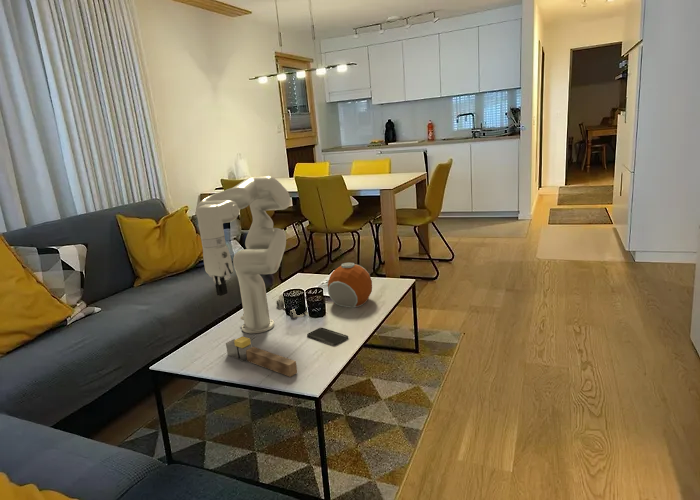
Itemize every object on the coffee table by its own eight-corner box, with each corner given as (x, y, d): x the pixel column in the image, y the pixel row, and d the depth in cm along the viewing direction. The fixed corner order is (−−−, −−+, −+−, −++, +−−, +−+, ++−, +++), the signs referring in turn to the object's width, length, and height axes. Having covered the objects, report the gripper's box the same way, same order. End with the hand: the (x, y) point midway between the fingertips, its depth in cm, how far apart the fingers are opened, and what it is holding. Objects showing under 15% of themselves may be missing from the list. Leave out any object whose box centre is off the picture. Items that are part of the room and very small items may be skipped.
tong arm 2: (251, 359, 160) (249, 348, 159) (254, 357, 161) (253, 346, 160) (293, 374, 147) (292, 363, 146) (297, 372, 148) (295, 361, 147)
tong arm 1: (247, 361, 158) (245, 350, 157) (251, 359, 159) (249, 348, 158) (290, 376, 146) (288, 365, 145) (293, 374, 147) (292, 363, 146)
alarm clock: (380, 297, 207) (377, 259, 202) (360, 312, 192) (357, 271, 188) (343, 293, 216) (340, 256, 212) (321, 306, 202) (317, 268, 198)
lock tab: (234, 345, 160) (234, 340, 160) (243, 341, 163) (242, 336, 163) (242, 348, 158) (241, 342, 157) (250, 344, 161) (249, 338, 160)
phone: (321, 327, 180) (349, 336, 169) (321, 329, 180) (349, 339, 170) (305, 334, 174) (334, 344, 164) (305, 337, 174) (334, 347, 164)
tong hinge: (226, 355, 164) (224, 343, 163) (236, 350, 168) (234, 338, 167) (245, 362, 158) (243, 350, 157) (255, 357, 161) (253, 344, 160)
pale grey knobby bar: (293, 320, 192) (291, 308, 190) (272, 303, 212) (271, 293, 211) (318, 313, 197) (316, 301, 195) (295, 297, 217) (294, 287, 216)
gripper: (237, 241, 154) (245, 294, 159) (209, 237, 164) (218, 287, 168) (218, 246, 149) (227, 301, 153) (190, 243, 158) (200, 294, 163)
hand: (222, 294), depth 161 cm, fingers closed
